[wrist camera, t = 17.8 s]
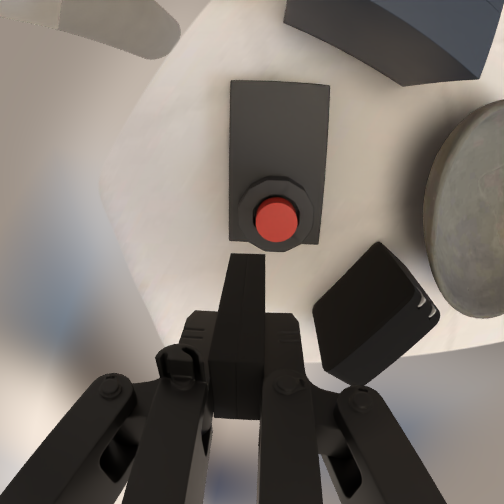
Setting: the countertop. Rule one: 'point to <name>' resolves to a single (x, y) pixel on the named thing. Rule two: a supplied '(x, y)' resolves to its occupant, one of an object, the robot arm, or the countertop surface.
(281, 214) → the red button
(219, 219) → the countertop surface
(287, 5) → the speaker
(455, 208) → the bowl
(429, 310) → the electronic device
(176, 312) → the countertop surface
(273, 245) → the push button box
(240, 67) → the countertop surface
